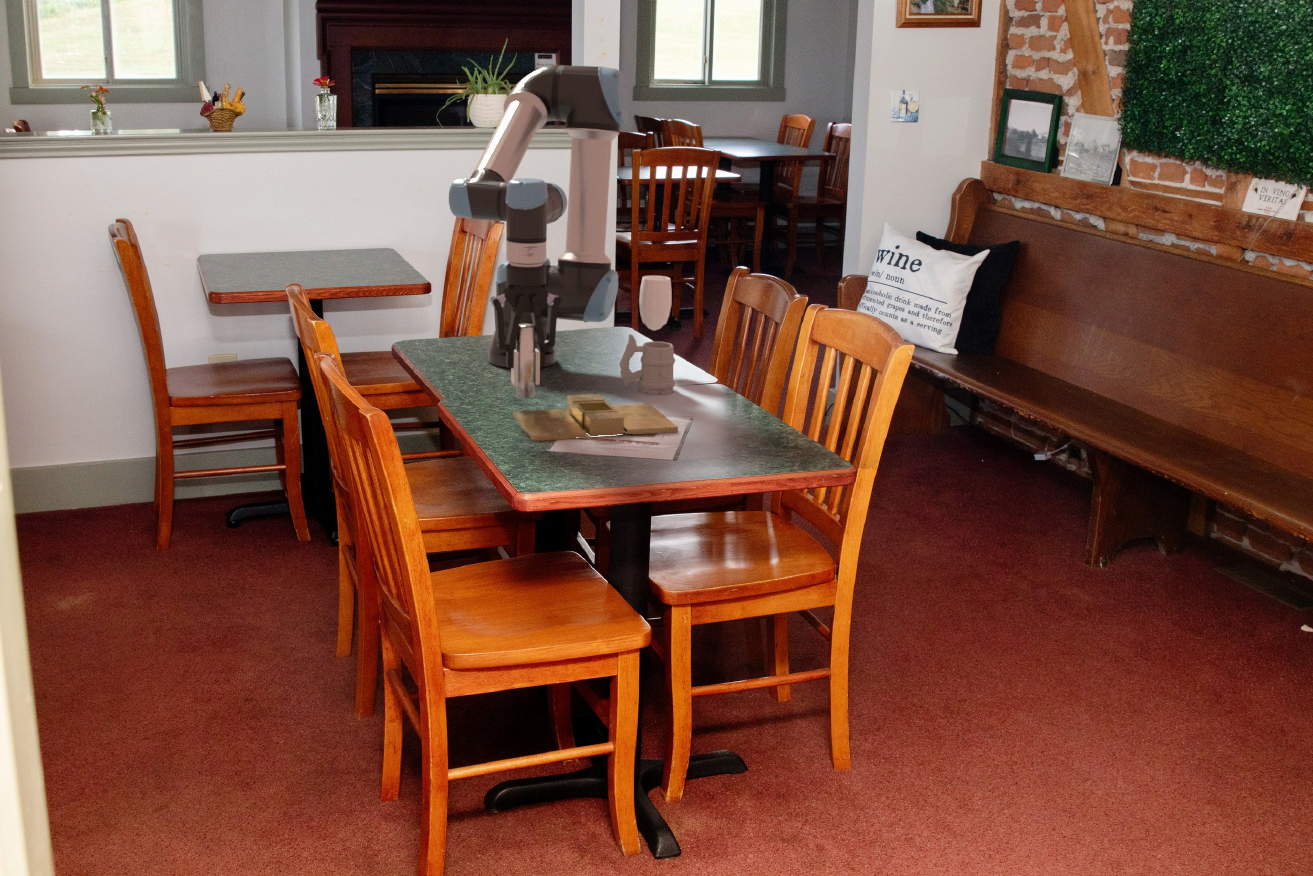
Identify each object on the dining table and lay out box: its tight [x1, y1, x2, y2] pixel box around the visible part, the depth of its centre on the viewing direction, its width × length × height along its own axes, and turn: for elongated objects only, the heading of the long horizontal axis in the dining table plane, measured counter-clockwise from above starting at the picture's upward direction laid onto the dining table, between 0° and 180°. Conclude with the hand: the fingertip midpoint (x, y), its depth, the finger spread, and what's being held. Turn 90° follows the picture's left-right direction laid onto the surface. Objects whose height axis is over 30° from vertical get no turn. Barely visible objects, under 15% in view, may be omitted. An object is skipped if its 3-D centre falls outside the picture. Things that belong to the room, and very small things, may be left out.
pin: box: [515, 324, 536, 400], centre depth 238 cm, size 4×4×14 cm
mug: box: [619, 334, 676, 396], centre depth 258 cm, size 8×12×12 cm, turn 103°
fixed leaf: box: [512, 400, 624, 442], centre depth 232 cm, size 16×17×4 cm
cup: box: [638, 275, 673, 331], centre depth 275 cm, size 7×7×21 cm
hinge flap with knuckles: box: [566, 393, 679, 435], centre depth 236 cm, size 16×17×4 cm
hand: (525, 383), depth 240 cm, fingers closed on pin, 4 cm apart
